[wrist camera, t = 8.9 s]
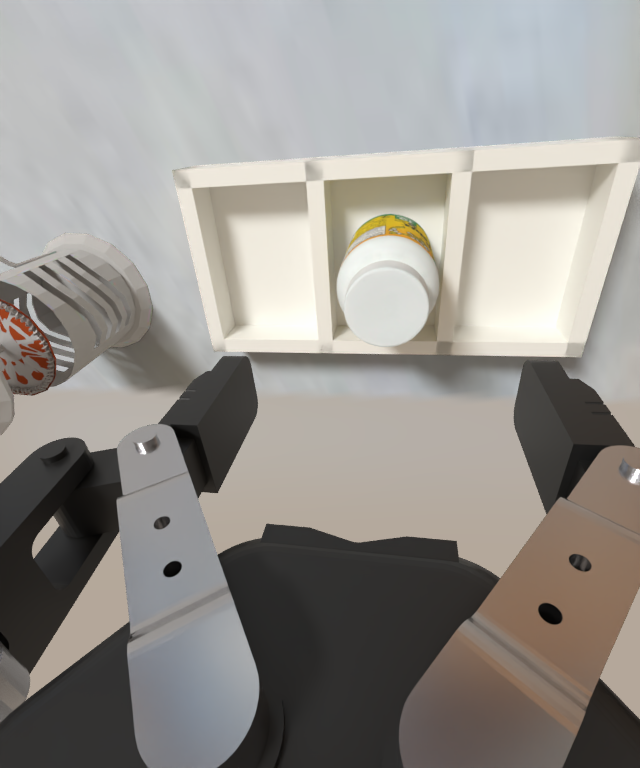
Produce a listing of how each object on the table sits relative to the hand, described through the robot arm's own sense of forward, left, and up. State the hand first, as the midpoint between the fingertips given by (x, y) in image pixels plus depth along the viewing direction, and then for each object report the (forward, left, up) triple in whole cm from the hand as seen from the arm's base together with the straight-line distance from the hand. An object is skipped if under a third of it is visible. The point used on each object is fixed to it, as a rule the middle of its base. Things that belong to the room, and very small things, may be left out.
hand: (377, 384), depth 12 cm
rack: (0, +1, -18) cm, 18 cm away
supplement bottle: (0, +1, -18) cm, 18 cm away
